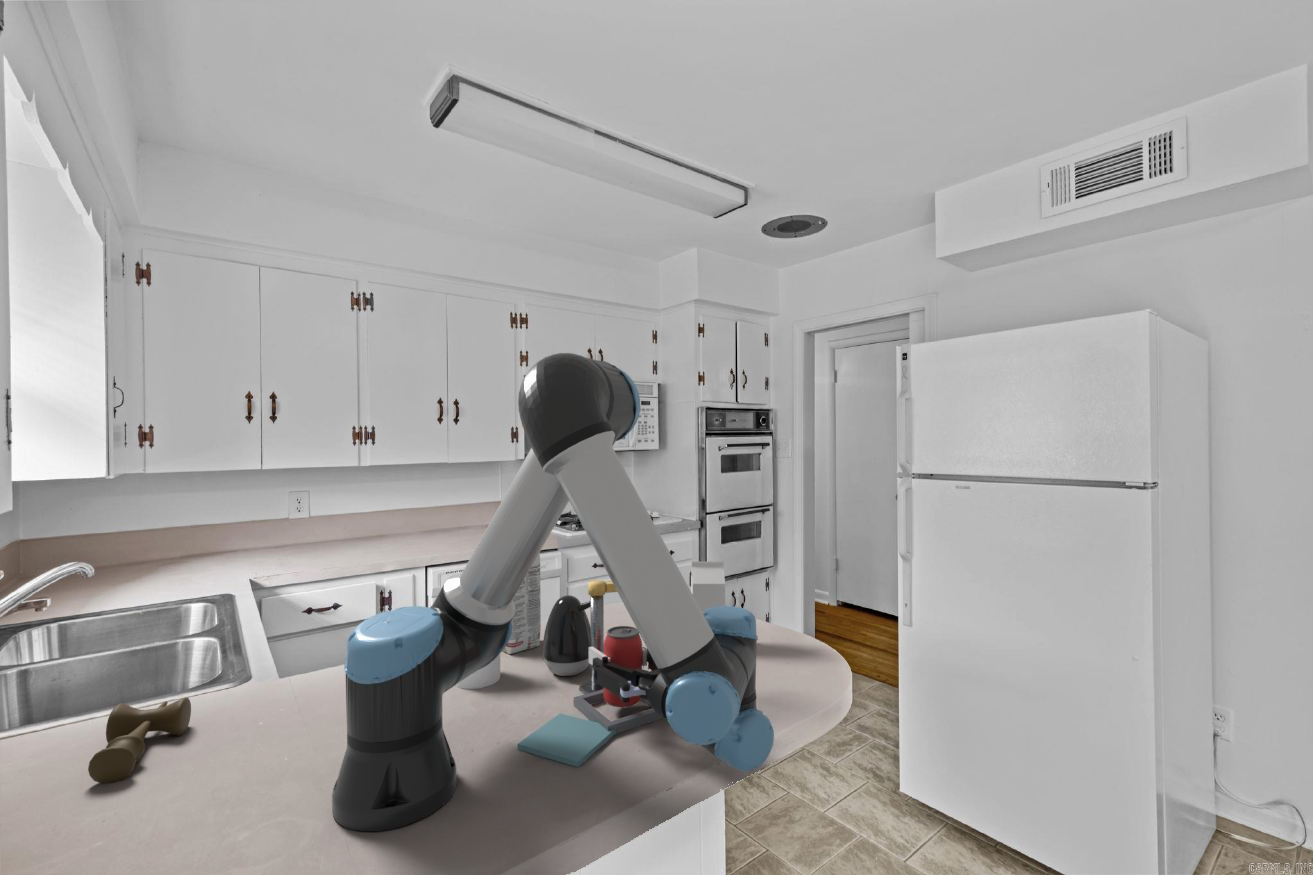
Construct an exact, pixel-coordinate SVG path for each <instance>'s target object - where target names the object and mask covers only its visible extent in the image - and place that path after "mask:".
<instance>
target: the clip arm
mask: <svg viewBox="0 0 1313 875" xmlns="http://www.w3.org/2000/svg"><path fill="white" fill-rule="evenodd" d="M587 586H588V587H587V590H588V592H587V594H588V595H589V596H601V595H604V596H605V595H606V594H608V593H618V592H617V590H616V588H615V586H614V584H613V582H612V581H605V580H591V581H589V582H587Z"/></svg>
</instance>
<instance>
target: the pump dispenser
mask: <svg viewBox="0 0 1313 875" xmlns="http://www.w3.org/2000/svg"><path fill="white" fill-rule="evenodd" d="M589 608H591V603H590V600H589V601H586V602H583V603H581V602H580V600H579V599H578V597H576V596H573V595H571V594H570V595H569V594H568V595H563V596H562V597H560V598H559V599H557V600H556V601H555V603H554V604H553V606H552V608H551V611H550V614H549V616H548V619H547V622H546V625H545V629H544V633H543V640H542V658H543V659H544V663H545V665H546V667H547V669H548V670H550V672H552V673H553V674H555V675H557V676H561V677H572V676H576V675H579V674H581V673H582V672H584V671H585V670H586V669H587V668H588V666H589V664H590V663H589V647H591V622H590V619H589V617H588V614H587V612H586V610H587V609H589Z"/></svg>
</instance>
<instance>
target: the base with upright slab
mask: <svg viewBox="0 0 1313 875" xmlns="http://www.w3.org/2000/svg"><path fill="white" fill-rule="evenodd" d="M499 680H501V653H500V654H499V655H498V657H497V658H496V659H495V660H494V661H491V663H490V664H488V665H487V666H485V667H483V668H481V669H479V670H477V671H476V672H474V673H473V674H471V675H470V676H468V677H467V678H465V679H464V680H462V681H461V682H459V683H458V684H456V685H455V686H454V687H456V688H459V689H463V690H472V689H473V690H475V689H482V688H486V687H490V686H491V685H494V684H496V683H497V682H499Z"/></svg>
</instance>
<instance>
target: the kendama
mask: <svg viewBox="0 0 1313 875" xmlns="http://www.w3.org/2000/svg"><path fill="white" fill-rule="evenodd" d="M168 703H169V702H168V701H165V700H164V702H162V703H161V704H160V705H159V706H158V707H157V708H152V709H151V708H149V709H138V708H135V707H133V706H131V705H128V704H126V703H123V702H122V703H118V704H117V705H115V706H114V708H113V709H111V712H110V714H109V715H108V718H107V723H106V727H105V740H106V742H107V745H106V746H105V748H103V749H100V751H98V752H95V754H93V756H92V758H91V759H90V761H89V763H88V768H87V770H88V771H87V772H88V774H89V777H90V778H91V779H92V780H93V781H94V782H97V783H99V784H112V783H115V782H116V783H117V782H120V781H123V780H124V779H126V778H128V777H129V776H130V775H131V773H132V772H133V771H134V769H135V766H136V761H138V760H140V759H141V757H142V756H143V754H144V753H145V748H146V745H145V741H144V740H145V738H146V736H147V733H149V732H150V733H151V732H164V733H167V734H171V735H174V736H182V735H184V734H185V732H186V731H187V729H188V727H189V724H190V722H191V716H192V715H191V714H192V703H191V700H190V698H189V697H183V698H180V699H178V700H176V701H174V702H172V703H170V704H168Z"/></svg>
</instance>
